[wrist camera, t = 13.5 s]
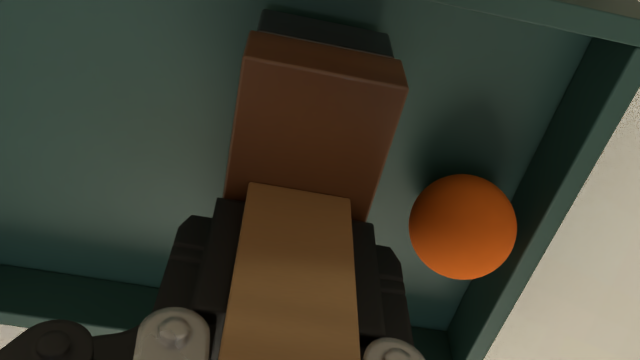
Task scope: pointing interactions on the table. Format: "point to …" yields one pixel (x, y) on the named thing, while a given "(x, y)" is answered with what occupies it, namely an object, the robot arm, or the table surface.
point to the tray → (216, 128)
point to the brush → (305, 182)
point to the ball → (462, 226)
